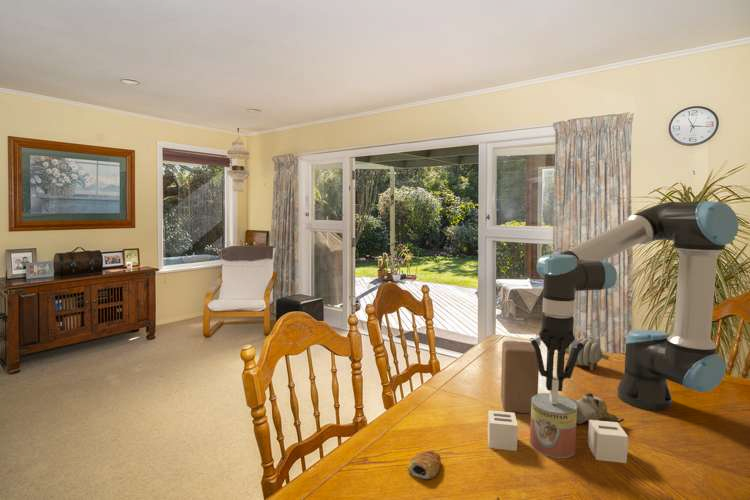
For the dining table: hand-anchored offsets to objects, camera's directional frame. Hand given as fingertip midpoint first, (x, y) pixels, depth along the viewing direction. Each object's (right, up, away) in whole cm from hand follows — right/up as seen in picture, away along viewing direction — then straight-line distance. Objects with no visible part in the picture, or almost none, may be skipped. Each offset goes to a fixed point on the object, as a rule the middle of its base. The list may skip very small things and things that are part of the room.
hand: (553, 401), depth 110 cm
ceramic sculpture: (+17, -11, +14) cm, 25 cm away
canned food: (0, -12, +1) cm, 12 cm away
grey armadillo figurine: (+36, -7, +56) cm, 67 cm away
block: (-1, -10, +23) cm, 25 cm away
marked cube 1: (-13, -12, +3) cm, 18 cm away
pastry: (-35, -14, -9) cm, 38 cm away
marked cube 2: (+13, -13, -2) cm, 18 cm away
